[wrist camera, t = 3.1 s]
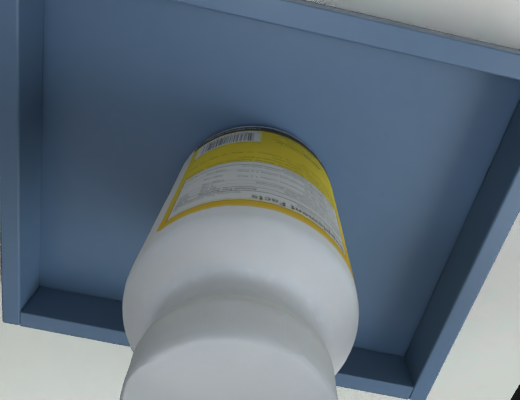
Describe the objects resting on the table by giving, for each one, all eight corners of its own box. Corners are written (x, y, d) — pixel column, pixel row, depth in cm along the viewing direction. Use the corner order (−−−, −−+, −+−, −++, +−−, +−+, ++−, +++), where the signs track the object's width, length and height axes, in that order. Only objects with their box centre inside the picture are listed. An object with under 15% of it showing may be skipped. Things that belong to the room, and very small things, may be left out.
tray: (27, 290, 24) (1, 322, 22) (27, -64, 17) (-9, -68, 15) (412, 365, 25) (424, 403, 23) (554, 58, 18) (590, 70, 16)
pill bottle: (236, 281, 23) (196, 551, 12) (147, 173, 21) (6, 387, 10) (360, 214, 21) (438, 461, 10) (277, 87, 19) (271, 240, 8)
